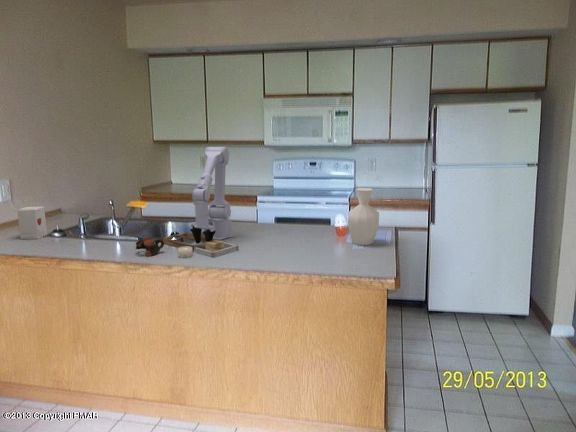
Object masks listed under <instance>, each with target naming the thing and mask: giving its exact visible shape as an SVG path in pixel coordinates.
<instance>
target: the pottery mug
mask: <svg viewBox="0 0 576 432" xmlns="http://www.w3.org/2000/svg"><path fill="white" fill-rule="evenodd" d="M159 243H160V245H159ZM164 246H165V244H164V241H163V240H162V238H158V239H153V237H151V236H149V237H145V238H141V239H140V240H138V241H136V242H135V250H145V252H144V254H145V257H147V258H148V257H151V256H154V255H155V256H157V255H159V252H160V250H161V249H163V248H164Z"/></svg>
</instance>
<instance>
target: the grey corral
mask: <svg viewBox="0 0 576 432" xmlns="http://www.w3.org/2000/svg"><path fill="white" fill-rule="evenodd" d="M223 242H224V249H221V250H218V251H214V252H213V251H209V250H206V248H205V249H204V248H200V247H199V246H198V247H194V252H195V253H196V254H199V255H203V256H205V257H207V256H208V257H210V258H216V257H219V256H223V255H226V254H230V253H233V252H236V251H237V252H238V251H239V245H237V244H235V243H234V244H233V243H229V242H225V241H223Z"/></svg>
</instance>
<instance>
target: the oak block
mask: <svg viewBox="0 0 576 432" xmlns="http://www.w3.org/2000/svg"><path fill="white" fill-rule="evenodd" d="M224 242H225V241H222V240H211V241H208V242H205V243H204V244H205V245H204V247H205V250H209V251H213V252H214V251H218V250H221V249H225V248H224Z"/></svg>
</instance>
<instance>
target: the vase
mask: <svg viewBox="0 0 576 432" xmlns="http://www.w3.org/2000/svg"><path fill="white" fill-rule="evenodd" d="M355 192H356V196H357V200H358V203H359V204H358V205H356V206H355V207H353V208H352V209H351V210H349V211H348V213H347V225H348V229H349V230H348V231H349V234H350V239H351V241H352V242H353V244H354V245H358V246H370V245H372V244H373V242H374V240H375V239H376V237H377V233H378V230H379V226H380V225H379V224H380V223H379V222H380V212H379V211H377V210H376V209H375V208H373V207H372V205H370V200H371V197H372V192H373V188H368V187H367V188H365V187H363V188H361V187H358V188H356V189H355Z"/></svg>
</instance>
